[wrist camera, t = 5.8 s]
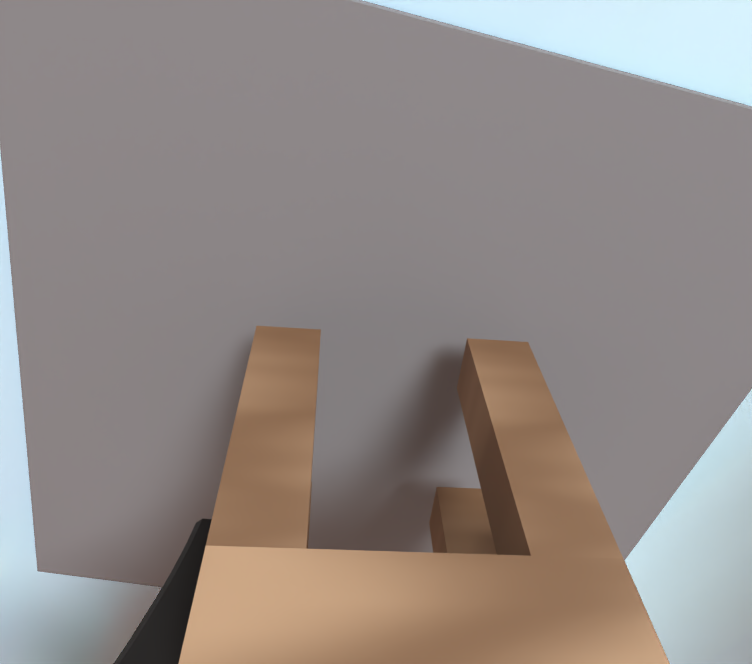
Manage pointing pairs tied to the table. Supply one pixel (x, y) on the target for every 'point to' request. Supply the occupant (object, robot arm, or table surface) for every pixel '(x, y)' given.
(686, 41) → the table surface
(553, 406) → the stool
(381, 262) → the mat
